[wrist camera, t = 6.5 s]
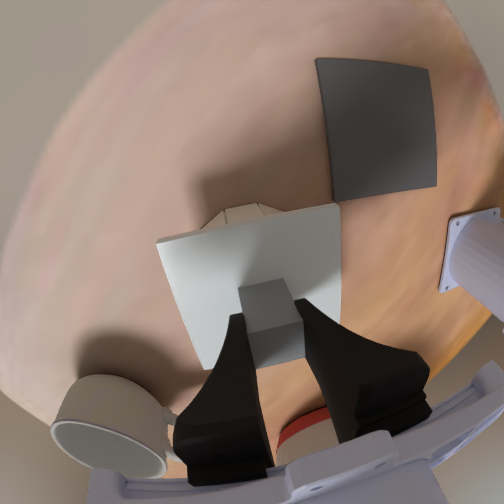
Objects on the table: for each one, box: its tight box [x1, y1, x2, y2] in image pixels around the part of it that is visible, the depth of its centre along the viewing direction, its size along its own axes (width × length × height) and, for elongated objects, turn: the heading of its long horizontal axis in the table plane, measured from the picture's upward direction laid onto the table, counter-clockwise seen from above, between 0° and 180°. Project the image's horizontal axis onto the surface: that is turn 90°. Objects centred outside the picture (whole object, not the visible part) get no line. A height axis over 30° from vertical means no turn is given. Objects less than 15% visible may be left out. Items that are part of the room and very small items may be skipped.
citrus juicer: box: [276, 407, 339, 466], centre depth 22 cm, size 16×17×20 cm
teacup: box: [50, 374, 182, 479], centre depth 20 cm, size 14×11×8 cm
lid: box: [156, 203, 341, 370], centre depth 14 cm, size 9×9×4 cm
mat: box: [315, 59, 437, 202], centre depth 16 cm, size 10×10×1 cm
